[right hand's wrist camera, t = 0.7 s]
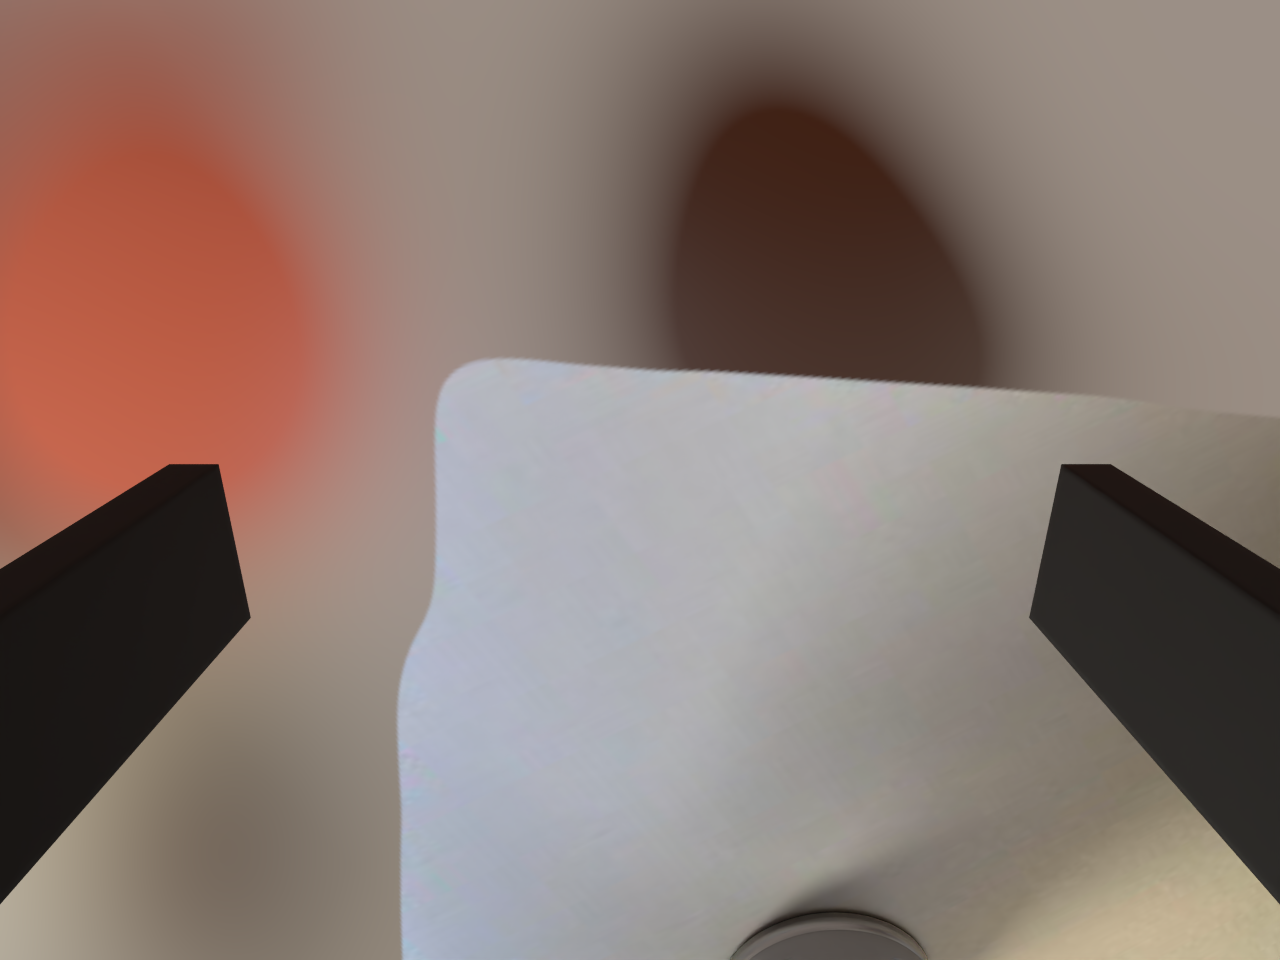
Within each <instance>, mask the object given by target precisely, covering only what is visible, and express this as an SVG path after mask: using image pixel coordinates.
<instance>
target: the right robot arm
mask: <svg viewBox="0 0 1280 960" xmlns="http://www.w3.org/2000/svg"><path fill="white" fill-rule="evenodd" d="M1029 618H1030V619H1031V620H1032V621H1033V623H1034V624H1035V625H1036V626H1037V627H1038V628H1039V629H1040V631H1041V632H1042V633H1043V634H1044V635H1045V636H1046V637H1047V639H1048V640H1049V641H1050V642H1051V643H1052V644H1053V645H1054V647H1055V648H1056V649H1057V650H1058V651H1059V652H1060V653H1061V655H1062V656H1063V657H1064V658H1065V659H1066V660H1067V661H1068V663H1069V664H1070V665H1071V666H1072V667H1073V668H1074V669H1075V671H1076V672H1077V673H1078V674H1079V675H1080V676H1081V677H1082V679H1083V680H1084V681H1085V682H1086V683H1087V684H1088V685H1089V687H1090V688H1091V689H1092V690H1093V691H1094V692H1095V693H1096V695H1097V696H1098V697H1099V698H1100V699H1101V700H1102V701H1103V703H1104V704H1105V705H1106V706H1107V707H1108V708H1109V709H1110V711H1111V712H1112V713H1113V714H1114V715H1115V716H1116V717H1117V719H1118V720H1119V721H1120V722H1121V723H1122V724H1123V725H1124V727H1125V728H1126V729H1127V730H1128V731H1129V732H1130V733H1131V735H1132V736H1133V737H1134V738H1135V739H1136V740H1137V741H1138V743H1139V744H1140V745H1141V746H1142V747H1143V748H1144V749H1145V751H1146V752H1147V753H1148V754H1149V755H1150V756H1151V757H1152V759H1153V760H1154V761H1155V762H1156V763H1157V764H1158V765H1159V767H1160V768H1161V769H1162V770H1163V771H1164V772H1165V773H1166V775H1167V776H1168V777H1169V778H1170V779H1171V780H1172V781H1173V783H1174V784H1175V785H1176V786H1177V787H1178V788H1179V789H1180V791H1181V792H1182V793H1183V794H1184V795H1185V796H1186V797H1187V799H1188V800H1189V801H1190V802H1191V803H1192V804H1193V805H1194V807H1195V808H1196V809H1197V810H1198V811H1199V812H1200V814H1201V815H1202V816H1203V817H1204V818H1205V819H1206V820H1207V822H1208V823H1209V824H1210V825H1211V826H1212V827H1213V828H1214V830H1215V831H1216V832H1217V833H1218V834H1219V835H1220V836H1221V838H1222V839H1223V840H1224V841H1225V842H1226V843H1227V844H1228V846H1229V847H1230V848H1231V849H1232V850H1233V851H1234V852H1235V854H1236V855H1237V856H1238V857H1239V858H1240V859H1241V860H1242V862H1243V863H1244V864H1245V865H1246V866H1247V867H1248V868H1249V870H1250V871H1251V872H1252V873H1253V874H1254V875H1255V876H1256V878H1257V879H1258V880H1259V881H1260V882H1261V883H1262V884H1263V886H1264V887H1265V888H1266V889H1267V890H1268V891H1269V892H1270V894H1271V895H1272V896H1273V897H1274V898H1275V899H1276V900H1277V902H1278V903H1279V904H1280V569H1279V568H1277V567H1276V566H1274V565H1272V564H1271V563H1269V562H1267V561H1266V560H1264V559H1263V558H1261V557H1259V556H1258V555H1256V554H1255V553H1253V552H1251V551H1250V550H1248V549H1247V548H1245V547H1243V546H1242V545H1240V544H1238V543H1237V542H1235V541H1234V540H1232V539H1230V538H1229V537H1227V536H1226V535H1224V534H1222V533H1221V532H1219V531H1217V530H1216V529H1214V528H1213V527H1211V526H1209V525H1208V524H1206V523H1205V522H1203V521H1201V520H1200V519H1198V518H1197V517H1195V516H1193V515H1192V514H1190V513H1188V512H1187V511H1185V510H1184V509H1182V508H1180V507H1179V506H1177V505H1176V504H1174V503H1172V502H1171V501H1169V500H1167V499H1166V498H1164V497H1163V496H1161V495H1159V494H1158V493H1156V492H1155V491H1153V490H1151V489H1150V488H1148V487H1146V486H1145V485H1143V484H1142V483H1140V482H1138V481H1137V480H1135V479H1134V478H1132V477H1130V476H1129V475H1127V474H1126V473H1124V472H1122V471H1121V470H1119V469H1117V468H1116V467H1114V466H1113V465H1111V464H1061V469H1060V474H1059V479H1058V483H1057V488H1056V493H1055V498H1054V502H1053V507H1052V512H1051V517H1050V522H1049V526H1048V531H1047V536H1046V541H1045V545H1044V550H1043V555H1042V560H1041V564H1040V569H1039V574H1038V579H1037V584H1036V588H1035V593H1034V598H1033V603H1032V607H1031V612H1030V617H1029ZM249 619H250V612H249V607H248V603H247V598H246V593H245V588H244V584H243V579H242V574H241V569H240V565H239V560H238V555H237V550H236V545H235V541H234V536H233V531H232V526H231V522H230V517H229V512H228V507H227V502H226V498H225V493H224V488H223V484H222V479H221V474H220V469H219V465H218V464H169V465H167V466H166V467H164V468H163V469H161V470H159V471H158V472H156V473H154V474H153V475H151V476H150V477H148V478H147V479H145V480H143V481H142V482H140V483H138V484H137V485H135V486H134V487H132V488H130V489H129V490H127V491H125V492H124V493H122V494H121V495H119V496H117V497H116V498H114V499H113V500H111V501H109V502H108V503H106V504H104V505H103V506H101V507H100V508H98V509H96V510H95V511H93V512H92V513H90V514H88V515H87V516H85V517H84V518H82V519H80V520H79V521H77V522H75V523H74V524H72V525H71V526H69V527H67V528H66V529H64V530H63V531H61V532H59V533H58V534H56V535H54V536H53V537H51V538H50V539H48V540H46V541H45V542H43V543H42V544H40V545H38V546H37V547H35V548H33V549H32V550H30V551H29V552H27V553H25V554H24V555H22V556H21V557H19V558H17V559H16V560H14V561H13V562H11V563H9V564H8V565H6V566H4V567H3V568H1V569H0V904H1V903H2V902H3V900H4V899H5V898H6V897H7V896H8V895H9V893H10V892H11V891H12V890H13V889H14V888H15V887H16V886H17V884H18V883H19V882H20V881H21V880H22V879H23V877H24V876H25V875H26V874H27V873H28V872H29V871H30V870H31V868H32V867H33V866H34V865H35V864H36V863H37V862H38V860H39V859H40V858H41V857H42V856H43V855H44V854H45V852H46V851H47V850H48V849H49V848H50V847H51V846H52V844H53V843H54V842H55V841H56V840H57V839H58V837H59V836H60V835H61V834H62V833H63V832H64V831H65V829H66V828H67V827H68V826H69V825H70V824H71V823H72V822H73V820H74V819H75V818H76V817H77V816H78V815H79V813H80V812H81V811H82V810H83V809H84V808H85V807H86V805H87V804H88V803H89V802H90V801H91V800H92V799H93V797H94V796H95V795H96V794H97V793H98V792H99V791H100V789H101V788H102V787H103V786H104V785H105V784H106V783H107V781H108V780H109V779H110V778H111V777H112V776H113V775H114V773H115V772H116V771H117V770H118V769H119V768H120V767H121V765H122V764H123V763H124V762H125V761H126V760H127V759H128V757H129V756H130V755H131V754H132V753H133V752H134V751H135V749H136V748H137V747H138V746H139V745H140V744H141V743H142V741H143V740H144V739H145V738H146V737H147V736H148V735H149V733H150V732H151V731H152V730H153V729H154V728H155V727H156V725H157V724H158V723H159V722H160V721H161V720H162V719H163V717H164V716H165V715H166V714H167V713H168V712H169V711H170V709H171V708H172V707H173V706H174V705H175V704H176V703H177V701H178V700H179V699H180V698H181V697H182V696H183V695H184V693H185V692H186V691H187V690H188V689H189V688H190V687H191V685H192V684H193V683H194V682H195V681H196V680H197V679H198V677H199V676H200V675H201V674H202V673H203V672H204V671H205V669H206V668H207V667H208V666H209V665H210V664H211V663H212V661H213V660H214V659H215V658H216V657H217V656H218V655H219V653H220V652H221V651H222V650H223V649H224V648H225V647H226V645H227V644H228V643H229V642H230V641H231V640H232V638H233V637H234V636H235V635H236V634H237V633H238V632H239V631H240V629H241V628H242V627H243V626H244V625H245V624H246V623H247V621H248V620H249ZM730 960H928V958H927V956H926V954H925V953H924V951H923V950H922V948H921V947H920V946H919V944H918V943H917V942H916V941H915V940H914V939H913V938H912V937H910V936H909V935H908V934H907V933H905V932H904V931H902V930H901V929H899V928H897V927H896V926H894V925H892V924H889V923H887V922H885V921H882V920H879V919H877V918H873V917H869V916H865V915H859V914H852V913H838V912H833V913H818V914H810V915H805V916H800V917H796V918H792V919H789V920H786V921H783V922H780V923H778V924H776V925H773V926H771V927H769V928H767V929H765V930H763V931H761V932H760V933H758V934H757V935H755V936H754V937H752V938H751V939H750V940H748V941H747V942H746V943H745V944H744V945H742V946H741V947H740V948H739V949H738V950H737V952H736V953H735V954H734V955H733V956H732V958H731V959H730Z"/></svg>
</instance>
